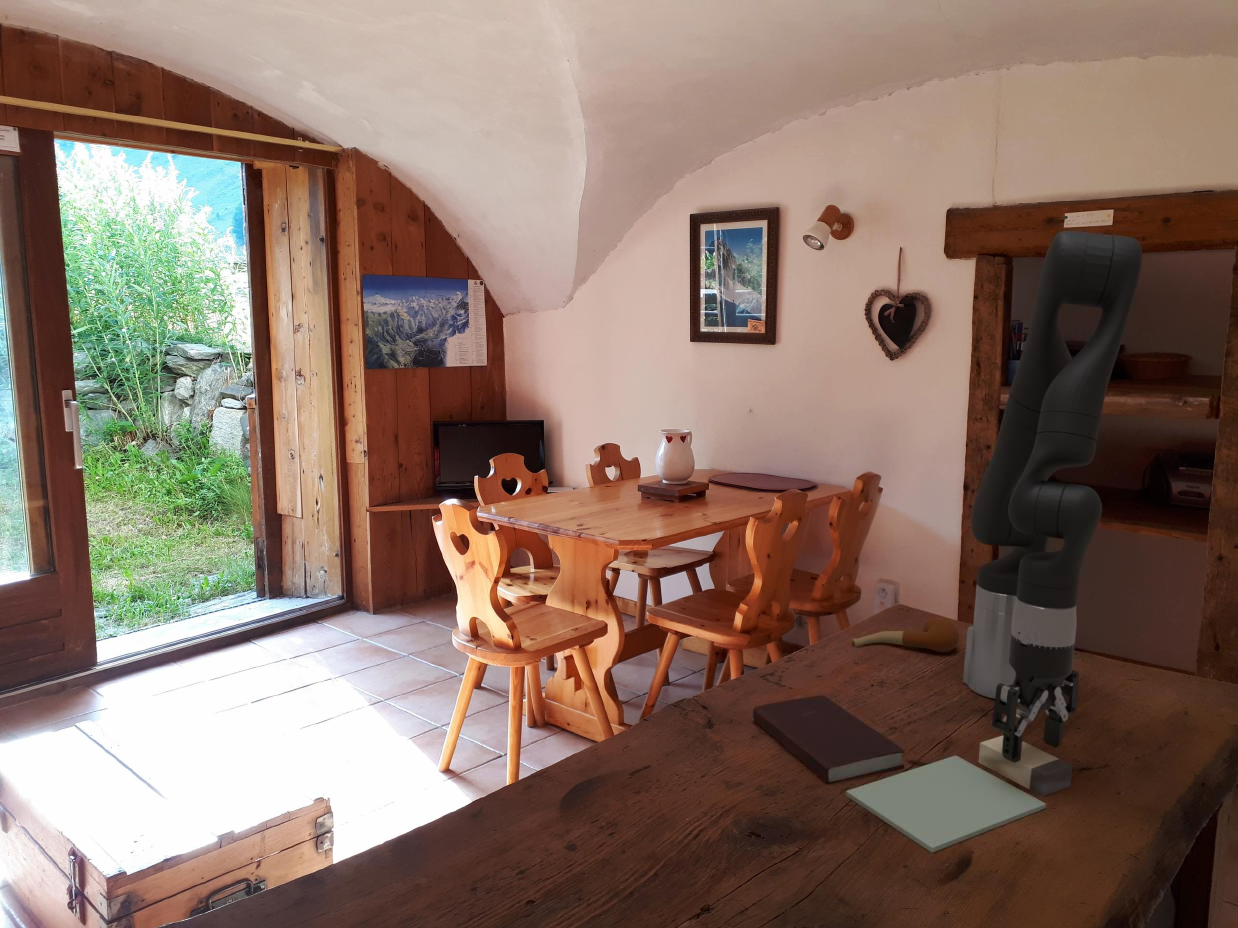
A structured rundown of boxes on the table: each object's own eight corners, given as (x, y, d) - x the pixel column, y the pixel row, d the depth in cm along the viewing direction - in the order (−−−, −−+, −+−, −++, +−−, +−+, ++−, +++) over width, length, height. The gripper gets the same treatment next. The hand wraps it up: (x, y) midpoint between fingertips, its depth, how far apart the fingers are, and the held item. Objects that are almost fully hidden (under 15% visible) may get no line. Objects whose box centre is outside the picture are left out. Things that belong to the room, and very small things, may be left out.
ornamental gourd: (963, 658, 165) (966, 626, 164) (860, 657, 165) (862, 626, 164) (948, 643, 172) (951, 613, 171) (849, 642, 172) (851, 612, 171)
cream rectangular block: (978, 762, 128) (980, 742, 127) (1005, 753, 130) (1007, 733, 130) (1043, 797, 119) (1045, 775, 119) (1070, 786, 122) (1072, 765, 121)
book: (825, 787, 121) (827, 764, 121) (751, 723, 139) (752, 703, 138) (905, 771, 126) (906, 749, 125) (823, 711, 143) (824, 691, 143)
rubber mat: (845, 795, 118) (845, 790, 118) (955, 759, 128) (955, 755, 128) (931, 852, 107) (932, 847, 106) (1045, 807, 116) (1046, 803, 116)
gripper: (1050, 617, 128) (1040, 729, 130) (981, 634, 121) (972, 752, 123) (1103, 634, 121) (1091, 751, 124) (1033, 653, 114) (1022, 777, 117)
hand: (1031, 752), depth 124 cm, fingers open, 8 cm apart
